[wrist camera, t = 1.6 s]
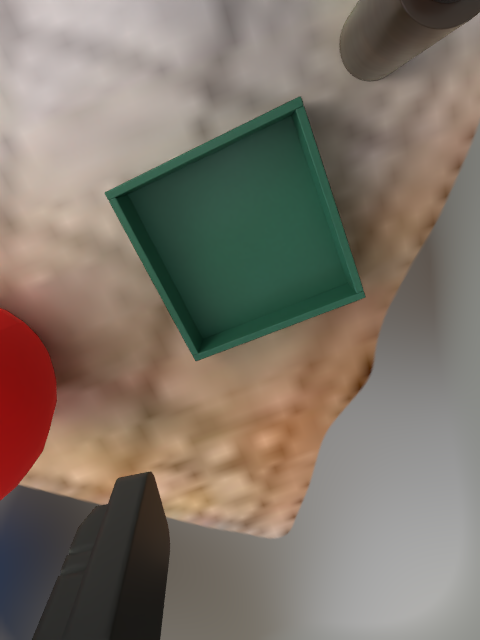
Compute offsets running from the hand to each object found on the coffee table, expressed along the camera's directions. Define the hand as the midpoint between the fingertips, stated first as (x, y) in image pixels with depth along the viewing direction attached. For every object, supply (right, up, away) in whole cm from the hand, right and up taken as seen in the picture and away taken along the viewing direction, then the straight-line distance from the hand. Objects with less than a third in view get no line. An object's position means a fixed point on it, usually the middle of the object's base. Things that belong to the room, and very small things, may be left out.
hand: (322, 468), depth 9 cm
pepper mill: (+7, +23, +17) cm, 30 cm away
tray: (-2, +10, +23) cm, 25 cm away
